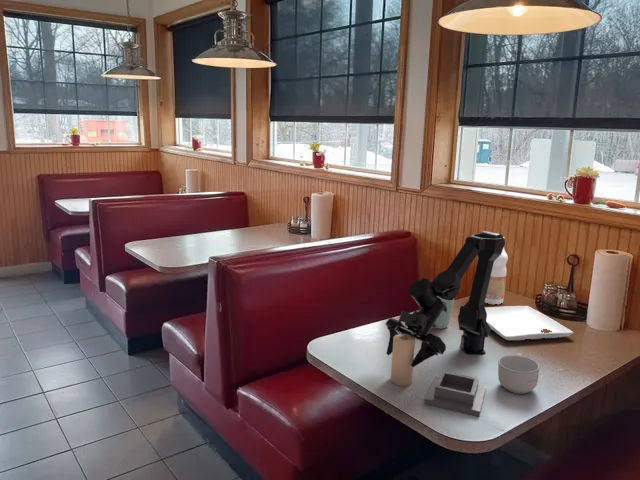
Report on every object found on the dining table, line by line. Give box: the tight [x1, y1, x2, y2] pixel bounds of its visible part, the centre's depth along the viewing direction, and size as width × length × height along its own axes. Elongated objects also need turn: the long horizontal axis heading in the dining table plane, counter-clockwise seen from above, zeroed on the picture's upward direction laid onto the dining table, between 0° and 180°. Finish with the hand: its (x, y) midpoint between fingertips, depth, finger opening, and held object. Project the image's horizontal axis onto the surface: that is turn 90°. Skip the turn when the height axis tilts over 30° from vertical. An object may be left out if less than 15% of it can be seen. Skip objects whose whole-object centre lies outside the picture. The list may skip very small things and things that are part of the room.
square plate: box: [485, 305, 574, 341], centre depth 193 cm, size 27×27×4 cm
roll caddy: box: [424, 370, 487, 418], centre depth 141 cm, size 14×14×4 cm
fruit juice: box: [484, 236, 509, 305], centre depth 218 cm, size 9×9×28 cm
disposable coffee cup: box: [434, 297, 456, 329], centre depth 191 cm, size 11×11×15 cm
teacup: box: [497, 352, 541, 395], centre depth 148 cm, size 14×11×8 cm
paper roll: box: [390, 334, 416, 387], centre depth 149 cm, size 6×6×13 cm
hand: (399, 360), depth 148 cm, fingers open, 9 cm apart
